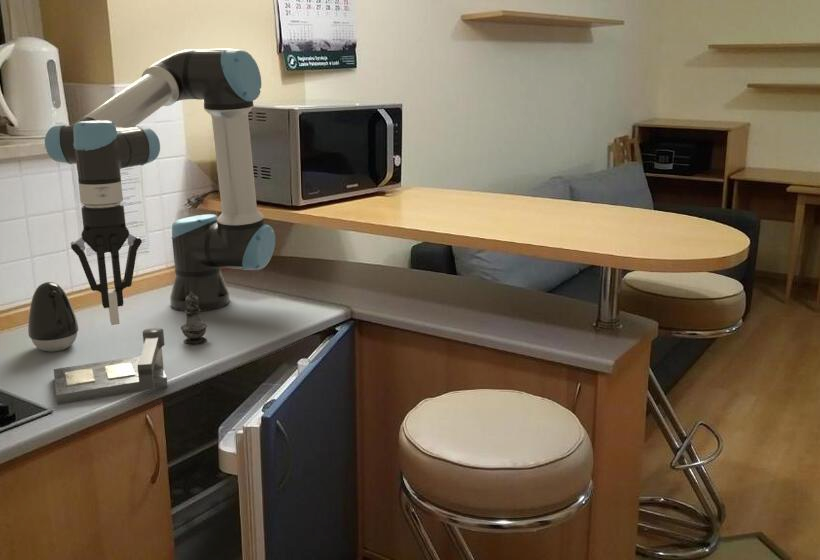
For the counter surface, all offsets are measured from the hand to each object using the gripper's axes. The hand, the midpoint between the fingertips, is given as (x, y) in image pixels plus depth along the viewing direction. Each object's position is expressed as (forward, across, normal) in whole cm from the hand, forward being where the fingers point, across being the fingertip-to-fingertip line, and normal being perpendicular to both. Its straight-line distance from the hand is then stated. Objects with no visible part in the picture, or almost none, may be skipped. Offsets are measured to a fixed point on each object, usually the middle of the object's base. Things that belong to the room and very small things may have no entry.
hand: (114, 322), depth 155 cm
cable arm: (+8, +5, -7) cm, 12 cm away
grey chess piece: (+13, +18, +17) cm, 28 cm away
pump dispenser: (+13, -11, +26) cm, 31 cm away
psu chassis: (+12, -2, 0) cm, 13 cm away
